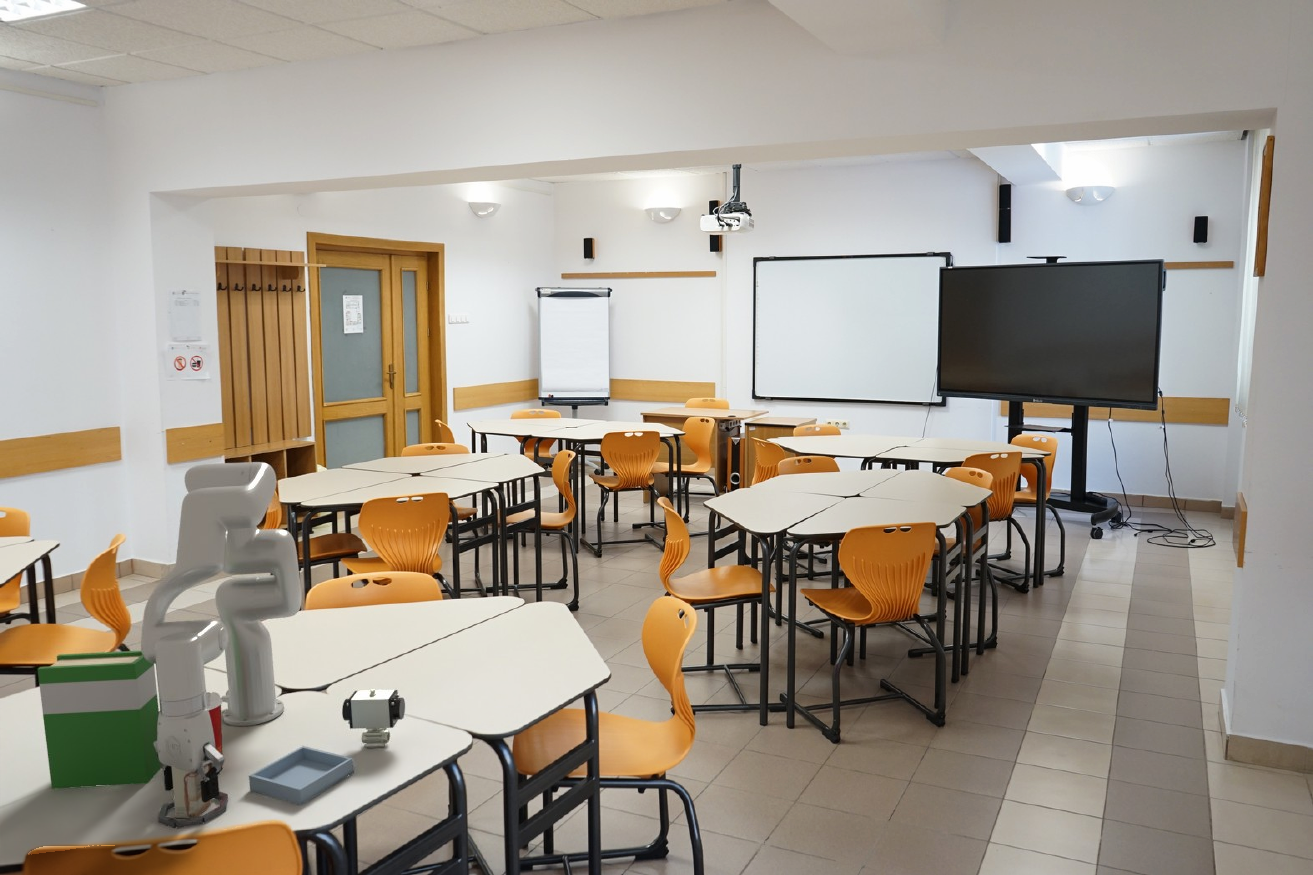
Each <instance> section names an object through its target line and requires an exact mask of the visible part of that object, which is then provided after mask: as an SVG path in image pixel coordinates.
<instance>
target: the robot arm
mask: <svg viewBox="0 0 1313 875" xmlns="http://www.w3.org/2000/svg"><path fill="white" fill-rule="evenodd" d="M184 484H185V489H186V491H187V492H188V493H187V494H185V496H184V497H183V499H182V503H181V511H180V518H179V519H180V520H179V527H178V528H179V529H178V537H177V538H178V542H177V549H176V558H175V559H176V560H175V565H174V567H173V568H172V569H171V570H170V571H169V572H168V573H167V574H166V575H165V576H164V577H163V578H162V580H160V582H159V583H158V584H157V585H156V587H155V588H154V589H153V591H152V592H151V594H150V596H149V597H148V599H147V602H146V604H145V608H144V612H143V618H142V626H141V635H140V651H142V654H143V656H144V658H145V659H146V660H147V661H148V662H150V663H153V664H154V665H155V668H156V669H155V673H156V683H157V690H158V691H157V693H158V703H159V715H158V722H157V741H155V742H154V747H155V749H156V752H158V753H157V757H158V759H159V761H160V762H161V770H163V772H162V774H163V781H164V782H163V783H164V790H165V791H166V792H170V791H172V790H173V778H172V765H173V767H175V768H178V769H181V770H185V771H189V772H194V771H196V770H197V771H198V773H199V774H200V776H201V778H202V779H203V780H202V781H200V785H201V796H202V802H205V803H206V802H208V801H209V800H211V801H212V800H213V799H214V798H215V797H217V796H218V795H219V791H220V785H219V776H220V775H221V772H222V770H223V766H224V763H225V759H226V758H225V756H223V754H222V755H221V754H220V753H219V752H218V751H217V750H216V749H215V739H214V733H213V728H212V723H211V719H210V715H209V711H208V709H207V707H208V705H207V694H206V692H207V687H206V674H205V665H207V664H209V663H210V662H213V661H214V660H216V659H218V658H219V657H221V655H222V654H223V653H224V657H225V663H226V664H225V665H226V668H225V669H226V679H227V690H226V692H225V695H222V696H221V697H220V698H221V699H222V700H223V702H222V703H227V709H226V710H225V711H224V712H223V714H222V718H223V719H222V720H223V722H224V723H225V724H227V725H230V726H235V727H236V726H237V727H243V726H244V727H248V726H255V725H258V724H264V723H266V722H268V721H271V720H273V719H276V718H277V717H279V716H280V715H282V713H283V712H284V710H285V704H284V701H282V700H280V699H277V697H276V696H277V695H276V694H277V693H276V684H275V682H276V681H275V670H274V661H273V648H272V637H271V634H270V632H269V630H268V628H267V627H266V626H265V625H264V623H263V622H262V621H261V620H268V619H269V620H273V619H282V618H283V619H286V618H291V617H293V616H296V615H297V613H299V611H301V610H300V609H301V607H302V598H303V597H302V595H303V594H302V587H301V586H302V585H301V578H300V577H301V576H300V572H299V570H300V569H299V560H298V554H297V553H298V552H297V547H296V541H295V540H294V537H293V535H292V534H291V532H289V531H288V530H286V529H282V528H270V529H269V528H268V529H259V528H258V527H257V526H258V525H260V523H261V522H262V521H263V518H265V514H266V513H267V511H268V508H269V507H270V504H271V502H272V500H273V498H274V495H275V492H276V489H277V474H276V471H275V470H274V468H273V466H271V465H270V464H268V463H266V462H263V461H261V462H260V461H253V462H252V461H250V462H249V461H248V462H226V463H225V462H222V463H207V464H206V463H204V464H198V465H194V466H192V467H190V468H188V469H187V471H186V472H185V474H184ZM221 572H222V573H224V574H227V575H230V576H231V575H233V576H234V575H235V576H237V575H241V576H238V577H233V578H228V579H225V581H223V582H221V583H220V584H219V585H218V587H217V589H216V591H215V598H214V600H215V606H216V609H217V614H218V616H219V619H220V620H218V619H197V620H196V619H194V620H192V619H191V620H180V621H179V620H177V621H165V620H166V614H167V612H168V610H169V608H170V606H171V604H172V603H173V602H174V601H175V599H177V597H179V596H180V595H182V593H183V592H186V591H187V590H189V589H191V588H192V587H194V586H196V585H197V584H200V583H202V582H205V581H207V580H209V579H210V578H213V577H215V576H217V575H219V574H220V573H221ZM257 574H268V575H257ZM269 574H270V575H269ZM243 575H251V576H243ZM252 575H253V576H252ZM202 761H205V762H203V763H202ZM207 765H208V766H209V768H210V770H209V771H208V772H206V771H205V769H204V767H205V766H207Z"/></svg>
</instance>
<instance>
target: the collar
mask: <svg viewBox="0 0 1313 875" xmlns="http://www.w3.org/2000/svg"><path fill="white" fill-rule="evenodd" d="M213 799H214V800H218V801H219V802H220V803H219V806H217V807H215V808H213V809H211V810H210V811H208V812H206V813H205V814H203V815H200V816H199V817H193V818H182V819H177V818H173V817H170V816H167V815H168V813H169V811H170V810H172V809H175V804H174V798H172V799H171V800H170V801H168V802H166V803H164V804H162V805H161V807H160V811H159V814H158V816H157V821H158V822H157V823H158V824H159V825H164V826H165V827H169V828H173V829H181V828H187V827H192V826H199V825H203V824H206V823H208V822H209V821H212V820H213V819H215V818H217V817H218V816H220V815H222V814H224V813H225V812H226V811H227V808H228V803H229V794H228V793H226V792H222V791H220V790H219V795H218V796H217V797H215V798H213Z"/></svg>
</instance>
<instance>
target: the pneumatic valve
mask: <svg viewBox="0 0 1313 875" xmlns="http://www.w3.org/2000/svg"><path fill="white" fill-rule="evenodd" d="M342 703H343V704H342V709H341V711H342V712H341V715H342V719H343V721H346V722H347V721H348V722H347V724H348V725H349V729H350V730H351V729H352V730H353V729H365V730H364V731H363V732H362V734H361V742H362V744H364V745H363V746H364V748H366V749H374V748H375V749H380V748H384V747H385V744H388V743H389V742H390V739H391V732H390V731H389V730H387V729H391V728H392V729H393V728H394V727H395V726H396V724H397V723H398V721H399V720H403V719H404V716H405V714H406V713H405V712H406V702H405V698H404V697H400V694H399V692H398V689H381V688H380V689H378V690H377V689H376V688H373V689H369V690H354V692H353V693H352V694H351V695H350V697H349V698H345V700H343V702H342Z"/></svg>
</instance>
